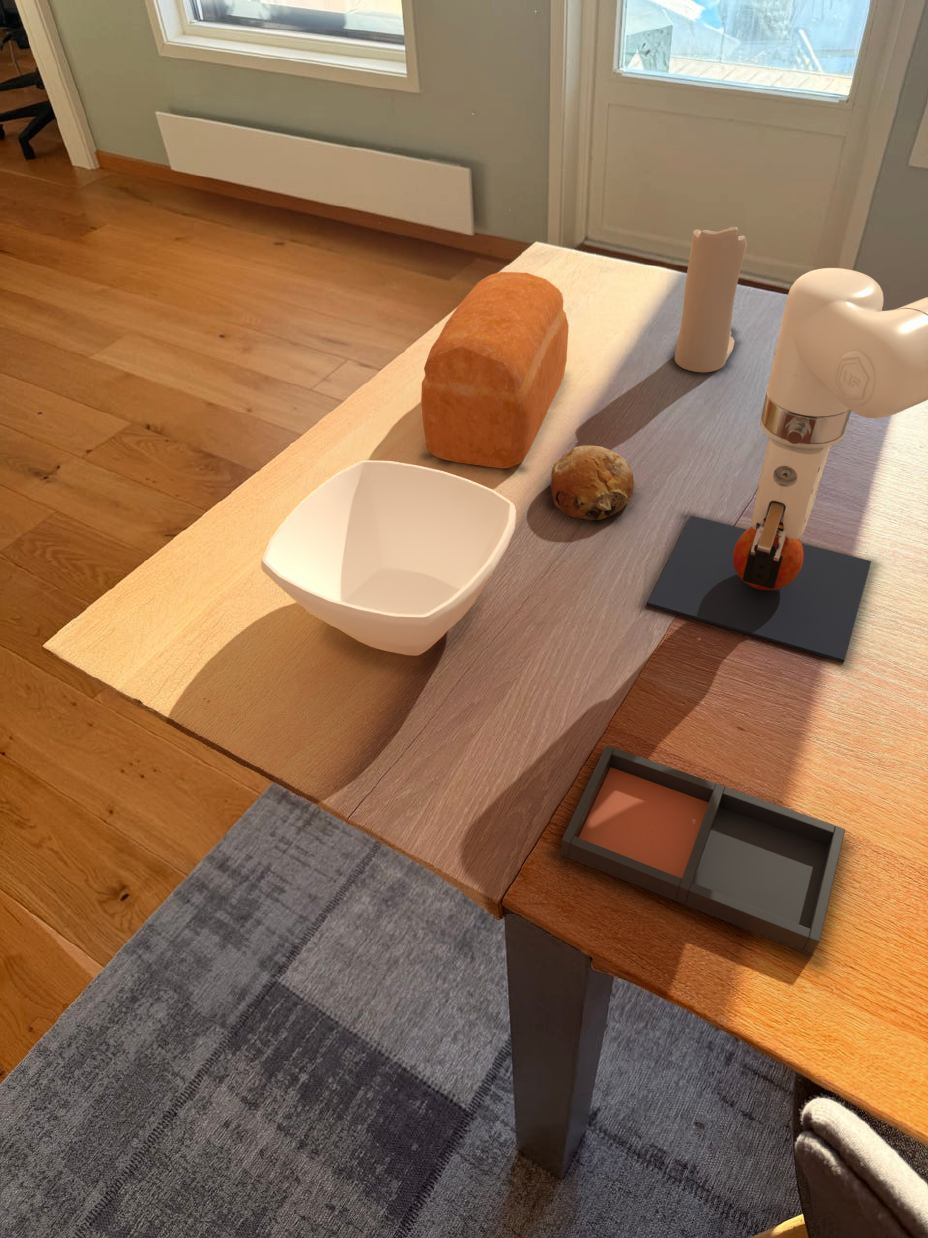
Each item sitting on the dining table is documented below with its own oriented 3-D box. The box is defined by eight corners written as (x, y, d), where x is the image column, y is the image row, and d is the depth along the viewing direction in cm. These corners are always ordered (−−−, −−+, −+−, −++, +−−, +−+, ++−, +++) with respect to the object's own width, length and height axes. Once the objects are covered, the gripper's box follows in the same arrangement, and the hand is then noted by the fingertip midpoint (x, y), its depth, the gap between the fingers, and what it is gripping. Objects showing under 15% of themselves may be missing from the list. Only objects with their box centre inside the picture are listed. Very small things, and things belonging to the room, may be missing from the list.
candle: (742, 332, 136) (769, 194, 122) (717, 376, 127) (743, 233, 113) (695, 323, 138) (716, 187, 124) (668, 366, 130) (686, 225, 116)
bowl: (368, 527, 107) (355, 444, 98) (540, 581, 99) (542, 496, 91) (254, 652, 93) (229, 567, 85) (443, 726, 85) (435, 641, 77)
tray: (838, 843, 75) (845, 828, 73) (812, 956, 68) (819, 942, 67) (604, 760, 82) (606, 744, 80) (560, 854, 75) (561, 840, 73)
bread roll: (632, 510, 113) (642, 445, 110) (624, 528, 103) (634, 459, 100) (554, 499, 115) (561, 435, 112) (539, 516, 105) (547, 448, 103)
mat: (870, 563, 99) (871, 560, 98) (843, 662, 89) (844, 660, 88) (690, 517, 106) (690, 515, 105) (646, 605, 96) (647, 602, 95)
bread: (571, 370, 130) (576, 261, 119) (522, 475, 113) (523, 359, 102) (479, 358, 134) (476, 252, 122) (418, 458, 116) (408, 345, 105)
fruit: (805, 599, 95) (824, 541, 89) (741, 608, 94) (755, 549, 88) (780, 556, 99) (796, 498, 94) (718, 564, 99) (731, 506, 93)
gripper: (830, 474, 75) (785, 624, 88) (864, 374, 86) (820, 521, 99) (740, 454, 78) (709, 603, 91) (784, 359, 89) (751, 504, 101)
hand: (767, 559), depth 95 cm, fingers closed on fruit, 7 cm apart
